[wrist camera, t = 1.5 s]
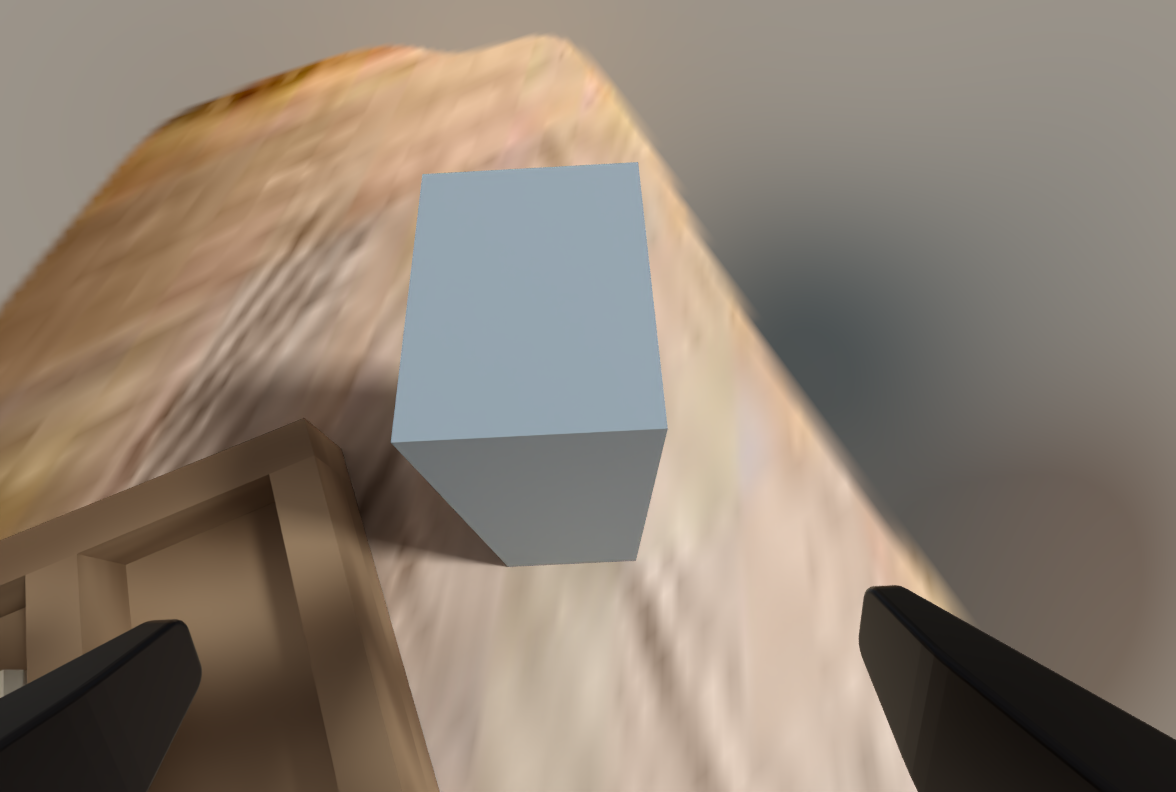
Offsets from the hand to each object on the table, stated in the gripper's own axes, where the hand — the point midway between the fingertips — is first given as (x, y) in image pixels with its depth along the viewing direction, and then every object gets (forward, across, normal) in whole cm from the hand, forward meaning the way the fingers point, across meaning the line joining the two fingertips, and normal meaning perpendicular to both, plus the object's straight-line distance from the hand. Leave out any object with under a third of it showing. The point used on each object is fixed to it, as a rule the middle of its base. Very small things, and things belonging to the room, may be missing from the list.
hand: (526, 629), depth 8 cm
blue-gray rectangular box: (+13, 0, +5) cm, 14 cm away
